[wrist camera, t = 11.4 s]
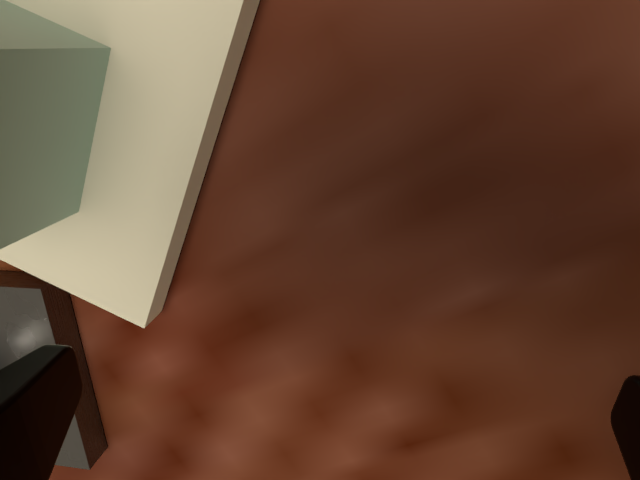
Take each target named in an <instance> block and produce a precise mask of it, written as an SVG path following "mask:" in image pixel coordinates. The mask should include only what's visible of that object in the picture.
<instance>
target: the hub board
mask: <svg viewBox="0 0 640 480" xmlns="http://www.w3.org/2000/svg"><path fill="white" fill-rule="evenodd" d="M6 1H8V2H10V3H12V4H15V5H17V6H19V7H21V8H23V9H26V10H28V11H30V12H32V13H35V14H37V15H39V16H41V17H43V18H46V19H48V20H50V21H52V22H55V23H57V24H59V25H61V26H63V27H66V28H68V29H70V30H72V31H75V32H77V33H79V34H81V35H83V36H86V37H88V38H90V39H92V40H94V41H97V42H99V43H101V44H103V45H106V46H108V47H110V48H111V51H110V56H109V61H108V66H107V71H106V76H105V81H104V86H103V91H102V96H101V102H100V107H99V112H98V117H97V122H96V127H95V132H94V137H93V142H92V147H91V152H90V158H89V163H88V168H87V173H86V178H85V183H84V188H83V193H82V198H81V203H80V208H79V212H77V213H75V214H73V215H71V216H69V217H67V218H65V219H63V220H61V221H58V222H56V223H54V224H52V225H50V226H48V227H46V228H44V229H42V230H40V231H38V232H35V233H33V234H31V235H29V236H27V237H25V238H23V239H21V240H19V241H17V242H15V243H12V244H10V245H8V246H6V247H4V248H2V249H0V260H2V261H4V262H6V263H8V264H10V265H13V266H15V267H17V268H19V269H21V270H23V271H25V272H27V273H29V274H31V275H33V276H36V277H38V278H40V279H42V280H44V281H46V282H48V283H50V284H52V285H54V286H56V287H59V288H61V289H63V290H65V291H67V292H69V293H71V294H73V295H75V296H77V297H79V298H82V299H84V300H86V301H88V302H90V303H92V304H94V305H96V306H98V307H100V308H102V309H105V310H107V311H109V312H111V313H113V314H115V315H117V316H119V317H121V318H123V319H125V320H128V321H130V322H132V323H134V324H136V325H138V326H140V327H142V328H145V327H146V326H147V325H148V324H149V323H150V322H151V321H152V320H153V319H154V318H155V317H156V316H157V315H158V314H159V313H160V312H161V311H162V309H163V306H164V303H165V299H166V296H167V293H168V290H169V287H170V284H171V280H172V277H173V274H174V271H175V268H176V265H177V261H178V258H179V255H180V252H181V249H182V246H183V242H184V239H185V236H186V233H187V230H188V227H189V223H190V220H191V217H192V214H193V211H194V208H195V204H196V201H197V198H198V195H199V192H200V189H201V185H202V182H203V179H204V176H205V173H206V170H207V166H208V163H209V160H210V157H211V154H212V151H213V147H214V144H215V141H216V138H217V135H218V132H219V128H220V125H221V122H222V119H223V116H224V113H225V109H226V106H227V103H228V100H229V97H230V94H231V90H232V87H233V84H234V81H235V78H236V75H237V71H238V68H239V65H240V62H241V59H242V56H243V52H244V49H245V46H246V43H247V40H248V37H249V33H250V30H251V27H252V24H253V21H254V18H255V14H256V11H257V8H258V5H259V2H260V0H6Z"/></svg>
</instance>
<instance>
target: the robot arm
mask: <svg viewBox="0 0 640 480" xmlns="http://www.w3.org/2000/svg"><path fill="white" fill-rule="evenodd" d="M82 390H83V384H82V379H81V374H80V370H79V366H78V362H77V357H76V353H75V350H74V349H73V348H72V347H71V346H69V345H55V344H48V345H43V346H41V347H39V348H38V349H36V350H34V351H32V352H31V353H29V354H27V355H25V356H23V357H22V358H20V359H18V360H16V361H14V362H13V363H11V364H9V365H7V366H5V367H4V368H2V369H0V480H49V478H50V475H51V473H52V470H53V468H54V465H55V463H56V460H57V458H58V455H59V452H60V450H61V447H62V445H63V442H64V440H65V437H66V435H67V432H68V430H69V427H70V424H71V422H72V419H73V417H74V414H75V412H76V409H77V407H78V404H79V402H80V399H81V395H82ZM611 425H612V429H613V431H614V434H615V437H616V440H617V442H618V445H619V448H620V451H621V453H622V456H623V459H624V462H625V464H626V467H627V470H628V473H629V475H630V478H631V480H640V376H639V375H632V376H629V377H628V378H627V379H625V381H624V383H623V385H622V388H621V390H620V392H619V395H618V397H617V399H616V402H615V404H614V407H613V409H612V412H611Z"/></svg>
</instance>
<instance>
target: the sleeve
mask: <svg viewBox="0 0 640 480" xmlns="http://www.w3.org/2000/svg"><path fill="white" fill-rule="evenodd" d="M110 51H111V48H110V47H108V46H106V45H103V44H101V43H99V42H97V41H94V40H92V39H90V38H88V37H86V36H83V35H81V34H79V33H77V32H75V31H72V30H70V29H68V28H66V27H63V26H61V25H59V24H57V23H55V22H52V21H50V20H48V19H46V18H43V17H41V16H39V15H37V14H35V13H32V12H30V11H28V10H26V9H23V8H21V7H19V6H17V5H15V4H12V3H10V2H8V1H6V0H0V249H2V248H4V247H6V246H8V245H10V244H12V243H15V242H17V241H19V240H21V239H23V238H25V237H27V236H29V235H31V234H33V233H35V232H38V231H40V230H42V229H44V228H46V227H48V226H50V225H52V224H54V223H56V222H58V221H61V220H63V219H65V218H67V217H69V216H71V215H73V214H75V213H77V212H79V208H80V203H81V198H82V193H83V188H84V183H85V178H86V173H87V168H88V163H89V158H90V152H91V147H92V142H93V137H94V132H95V127H96V122H97V117H98V112H99V107H100V102H101V96H102V91H103V86H104V81H105V76H106V71H107V66H108V61H109V56H110Z"/></svg>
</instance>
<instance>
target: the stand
mask: <svg viewBox="0 0 640 480" xmlns="http://www.w3.org/2000/svg"><path fill="white" fill-rule="evenodd" d="M48 344H55V345H69V346H71V347H72V348H73V349H74V350H75V353H76V357H77V362H78V366H79V370H80V374H81V379H82V384H83V390H82V395H81V399H80V402H79V404H78V407H77V409H76V412H75V414H74V417H73V419H72V422H71V424H70V427H69V430H68V432H67V435H66V437H65V440H64V442H63V445H62V447H61V450H60V452H59V455H58V458H57V460H56V463H55V465H60V466H67V467H74V468H82V469H89V470H90V469H91V467H92V466H93V465H94V464H95V462H96V461H97V460H98V459H99V457H100V456H101V455H102V454H103V452H104V451H105V450H106V449H107V443H106V439H105V435H104V431H103V427H102V423H101V419H100V415H99V411H98V407H97V403H96V399H95V395H94V391H93V387H92V383H91V379H90V375H89V371H88V367H87V363H86V359H85V355H84V351H83V347H82V343H81V339H80V335H79V331H78V327H77V323H76V320H75V316H74V312H73V308H72V304H71V300H70V296H69V292H67V291H65V290H63V289H61V288H59V287H56V286H54V285H52V284H50V283H48V282H46V281H44V280H42V279H40V278H38V277H36V276H33V275H31V274H29V273H27V272H14V271H0V369H2V368H4V367H5V366H7V365H9V364H11V363H13V362H14V361H16V360H18V359H20V358H22V357H23V356H25V355H27V354H29V353H31V352H32V351H34V350H36V349H38V348H39V347H41V346H43V345H48Z"/></svg>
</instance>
